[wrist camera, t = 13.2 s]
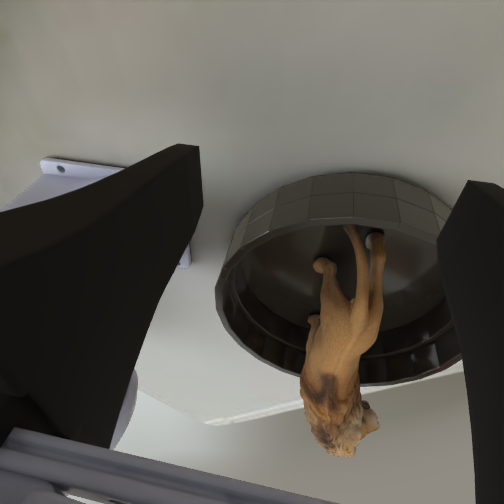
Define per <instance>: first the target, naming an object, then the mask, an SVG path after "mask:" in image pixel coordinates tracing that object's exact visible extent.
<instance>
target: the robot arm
mask: <svg viewBox="0 0 504 504" xmlns="http://www.w3.org/2000/svg"><path fill="white" fill-rule="evenodd" d="M40 166H41V169H42V171H43V173H44V175H42V176H41V177H40V178H39V179H38V180H36V181H35V182H34V183H33V184H31V185H30V186H29V187H28V188H27V189H25V190H24V191H23V192H22V193H21V194H19V195H18V196H17V197H16V198H15V199H13V200H12V201H11V202H10V203H8V204H7V205H6V206H5V207H4V208H2V209H1V210H0V504H85V503H82V502H79V501H76V500H74V499H71V498H68V497H67V496H68V494H70V495H73V496H77V497H81V498H85V499H89V500H93V501H97V502H101V503H105V504H338V503H333V502H329V501H325V500H321V499H317V498H312V497H308V496H304V495H300V494H295V493H291V492H287V491H283V490H279V489H274V488H270V487H266V486H262V485H258V484H253V483H249V482H245V481H241V480H236V479H232V478H228V477H224V476H220V475H215V474H211V473H207V472H203V471H198V470H194V469H190V468H186V467H182V466H177V465H173V464H168V463H165V462H160V461H156V460H152V459H148V458H144V457H139V456H135V455H131V454H127V453H122V452H118V451H114V450H113V449H114V448H115V447H116V445H117V444H118V442H119V440H120V439H121V437H122V435H123V434H124V432H125V430H126V428H127V426H128V424H129V421H130V419H131V417H132V414H133V411H134V408H135V404H136V398H137V388H138V377H137V373H136V371H135V369H134V367H135V364H136V361H137V359H138V356H139V353H140V350H141V348H142V345H143V342H144V339H145V336H146V334H147V331H148V328H149V326H150V323H151V321H152V318H153V315H154V313H155V310H156V308H157V305H158V303H159V300H160V298H161V296H162V294H163V292H164V290H165V288H166V286H167V284H168V282H169V280H170V278H171V276H172V274H173V273H174V271H175V269H176V267H179V268H189V267H190V265H191V255H190V247H189V242H190V240H191V238H192V236H193V234H194V232H195V229H196V226H197V224H198V221H199V218H200V215H201V212H202V209H203V193H202V179H201V166H200V152H199V146H194V145H186V144H176V145H173V146H170V147H168V148H166V149H164V150H162V151H160V152H158V153H156V154H154V155H152V156H150V157H148V158H146V159H144V160H142V161H140V162H138V163H135V164H133V165H131V166H129V167H127V168H119V167H111V166H104V165H97V164H89V163H82V162H75V161H68V160H60V159H53V158H44V159H43V160H41V161H40ZM61 166H62V167H63V168H64V169H63V168H62V167H61ZM436 242H437V256H438V265H439V272H440V276H441V280H442V284H443V287H444V291H445V295H446V299H447V302H448V306H449V309H450V313H451V317H452V320H453V324H454V327H455V331H456V335H457V338H458V342H459V346H460V351H461V355H462V361H463V368H464V374H465V381H466V388H467V396H468V404H469V413H470V422H471V432H472V443H473V458H474V471H475V496H476V504H504V189H503V188H501V187H500V186H498V185H496V184H494V183H487V182H479V181H471V180H468V181H467V183H466V185H465V187H464V189H463V191H462V193H461V195H460V196H459V198H458V200H457V202H456V204H455V206H454V208H453V210H452V211H451V213H450V215H449V217H448V219H447V221H446V223H445V225H444V226H443V228H442V230H441V232H440V234H439V236H438V238H437V240H436Z"/></svg>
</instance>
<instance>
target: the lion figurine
mask: <svg viewBox="0 0 504 504" xmlns="http://www.w3.org/2000/svg"><path fill="white" fill-rule="evenodd" d="M343 227H344V230H345V231H346V233H347V234H348V236H349V237H350V239H351V242H352V244H353V247H354V250H355V255H356V263H357V289H356V297H355V298H354V299H352V300H350V298H349V297H348V295H347V294H346V293H345V292H344V290H343V289H342V288H341V287H340V286H339V284H338V281H337V279H336V277H335V276H336V272H337V268H336V264H335V263H333V262H332V261H330V260H329V259H328V258H325V257H320V258H317V259H316V260H315V261H314V262H313V267H314V269H315V271H317V272H318V273H323V283H322V288H321V293H320V301H321V312H320V315H316V314H315V315H311V316H309V317H308V322H309V323H310V324H311V329H310V332H309V337H308V341H307V345H306V353H307V354H306V359H305V364H304V366H303V369H302V371H301V374H300V387H301V389H300V395H301V397H302V399H303V401H304V409H305V416H306V419H307V421H308V422H309V424H310V425H311V431H312V433H313V435H314V437H315V440H316V441H317V443H318V444H320V445H321V446H322V447H324V448H325V449H326V451H327V453H329V454H333V455H335V456H338V457H339V456H354V455H355V452H356V447H355V446H358V445H359V443H360V440H361V439H362V438H364V437H365V436H366V434H368V433H370V432H373V431H375V430H377V429H378V428H379V427H380V424H379V422H378V418H377V415H376V413H375V412H374V411H373V410H372V409H370V406H369V403H368V402H367V401H361V393H360V379H359V373H358V368H359V360H360V355H361V354H363V353H364V352H366V351H367V350H368V349H369V348H370V347H371V346H372V345H373V344H374V342H375V341H376V339H377V335H378V331H379V326H380V322H381V318H382V313H383V298H382V279H383V269H384V263H385V260H386V254H385V250H384V245H385V236H384V235H383V234H382V233H377V232H375V233H371V234H369V235H368V236H367V238H366V247H367V248H369V249H370V250H371V253H370V274H369V276H368V264H367V257H366V253H365V250H364V247H363V244H362V242H361V239H360V237H359V235H358V233H357V231H356V228H355V225H354V224H350V225H343Z"/></svg>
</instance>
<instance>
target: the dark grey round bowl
mask: <svg viewBox="0 0 504 504" xmlns="http://www.w3.org/2000/svg"><path fill="white" fill-rule="evenodd" d="M451 211H452V210H451V209H450V208H449V207H447V206H446V205H445V204H443V203H442V202H441V201H439V200H438V199H437V198H436V197H434V196H433V195H432V194H430V193H429V192H427V191H426V190H423V189H421V188H418V187H416V186H413V185H410V184H408V183H405V182H403V181H400V180H397V179H395V178H391V177H385V176H377V175H369V174H361V173H352V172H351V173H341V174H330V175H320V176H314V177H310V178H307V179H304V180H301V181H298V182H296V183H293V184H290V185H287V186H284V187H281V188H279V189H277V190H276V191H274V192H273V193H271V194H270V195H268V196H267V197H265V198H264V199H262V200H261V201H259V202H258V203H256V204H255V205H254V206H253V207H252V208H251V209H250V211H249V212H248V213H247V214H246V216H245V217H244V218H243V219H242V220H241V222H240V223H239V224H238V226H237V228H236V230H235V233H234V236H233V239H232V241H231V244H230V247H229V250H228V253H227V255H226V258H225V261H224V264H223V267H222V269H221V272H220V275H219V278H218V280H217V283H216V286H215V301H216V310H217V313H218V315H219V317H220V319H221V321H222V324H223V326H224V328H225V329H226V331H227V332H228V333H229V334H230V335H231V336H232V338H233V339H234V340H235V341H236V342H237V343H238V345H239V346H241V347H242V348H243V349H245V350H246V351H247V352H249V353H250V354H251V355H253V356H254V357H255V358H257V359H258V360H260V361H262V362H264V363H266V364H268V365H270V366H272V367H274V368H276V369H278V370H280V371H282V372H285V373H288V374H291V375H294V376H297V377H300V374H301V371H302V369H303V366H304V364H305V359H306V354H307V353H306V345H307V341H308V337H309V332H310V329H311V324H310V323H309V322H308V317H309V316H311V315H315V314H316V315H320V312H321V301H320V293H321V288H322V283H323V273H318V272H317V271H315V269H314V267H313V262H314V261H315V260H316V259H317V258H320V257H325V258H328V259H329V260H330V261H332V262H333V263H335V264H336V268H337V272H336V276H335V277H336V279H337V281H338V284H339V286H340V287H341V288H342V289H343V290H344V292H345V293H346V294H347V295H348V297H349V298H350V300H352V299H354V298H355V297H356V289H357V263H356V255H355V250H354V247H353V244H352V242H351V239H350V237H349V236H348V234H347V233H346V231H345V230H344V227H343V225H350V224H354V225H355V228H356V231H357V233H358V235H359V237H360V239H361V242H362V244H363V247H364V250H365V253H366V257H367V264H368V276H369V274H370V253H371V250H370V249H369V248H367V247H366V238H367V236H368V235H369V234H371V233H375V232H377V233H382V234H383V235H384V236H385V245H384V250H385V254H386V260H385V263H384V269H383V279H382V298H383V313H382V318H381V322H380V326H379V331H378V335H377V339H376V341H375V342H374V344H373V345H372V346H371V347H370V348H369V349H368V350H367V351H366V352H364V353H363V354H361V355H360V360H359V368H358V373H359V379H360V387H368V386H386V385H394V384H399V383H404V382H409V381H414V380H418V379H422V378H425V377H427V376H430V375H433V374H435V373H438V372H441V371H443V370H445V369H447V368H449V367H451V366H452V365H454V364H455V363H457V362H458V361H460V360H462V355H461V351H460V346H459V342H458V338H457V335H456V331H455V327H454V324H453V320H452V317H451V313H450V309H449V306H448V302H447V299H446V295H445V291H444V287H443V284H442V280H441V276H440V272H439V265H438V256H437V242H436V240H437V238H438V236H439V234H440V232H441V230H442V228H443V226H444V225H445V223H446V221H447V219H448V217H449V215H450V213H451Z"/></svg>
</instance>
